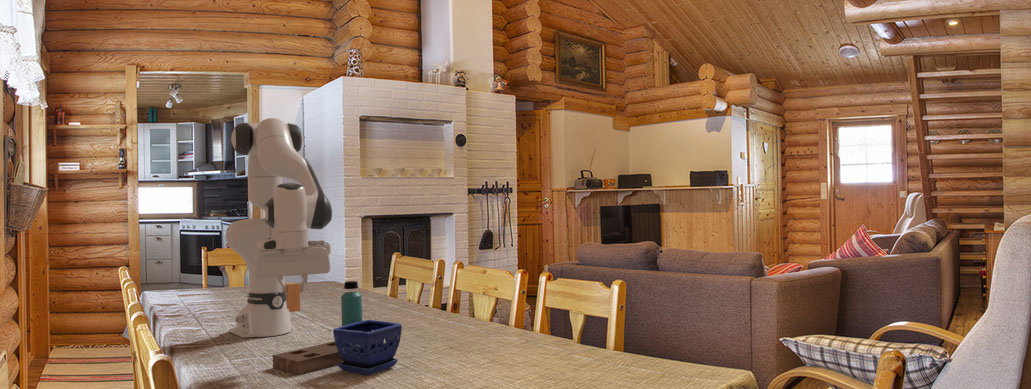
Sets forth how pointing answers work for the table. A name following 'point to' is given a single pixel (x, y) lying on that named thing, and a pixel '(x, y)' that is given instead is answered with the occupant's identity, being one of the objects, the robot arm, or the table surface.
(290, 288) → the tan two-pronged block
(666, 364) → the table surface
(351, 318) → the beverage bottle
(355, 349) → the flower pot
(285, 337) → the table surface
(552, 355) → the table surface
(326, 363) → the block with square holes
